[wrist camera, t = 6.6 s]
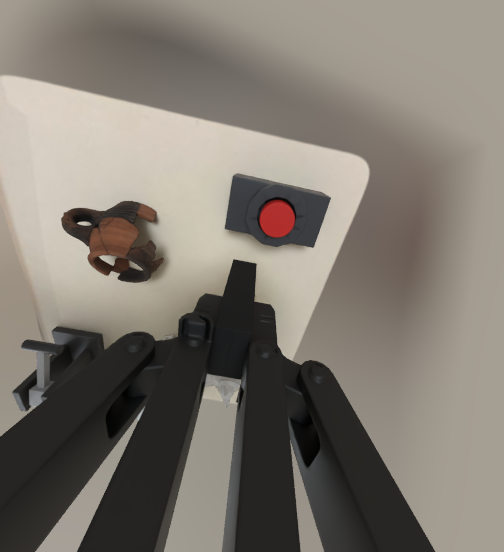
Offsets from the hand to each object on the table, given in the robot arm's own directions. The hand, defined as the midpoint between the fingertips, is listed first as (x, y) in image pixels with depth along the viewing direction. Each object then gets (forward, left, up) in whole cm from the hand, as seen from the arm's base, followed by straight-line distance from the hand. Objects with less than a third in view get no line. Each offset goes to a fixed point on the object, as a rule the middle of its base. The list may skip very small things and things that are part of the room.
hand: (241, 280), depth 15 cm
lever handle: (-1, -39, -11) cm, 40 cm away
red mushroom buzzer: (+1, +3, -18) cm, 18 cm away
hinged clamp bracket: (+1, -41, -18) cm, 45 cm away
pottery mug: (-8, -15, -18) cm, 25 cm away
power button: (+1, +3, -12) cm, 12 cm away
